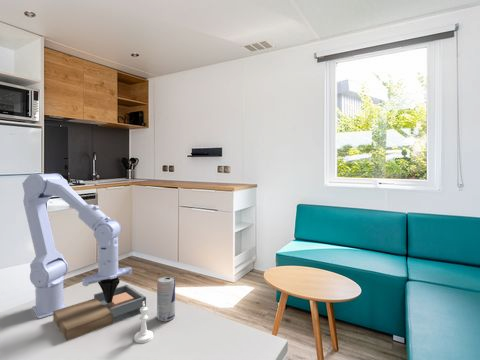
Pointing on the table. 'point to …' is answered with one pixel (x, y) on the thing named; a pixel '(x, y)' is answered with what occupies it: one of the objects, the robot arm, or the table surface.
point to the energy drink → (166, 298)
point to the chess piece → (143, 328)
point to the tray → (126, 308)
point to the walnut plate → (82, 318)
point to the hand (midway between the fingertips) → (108, 301)
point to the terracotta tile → (120, 299)
